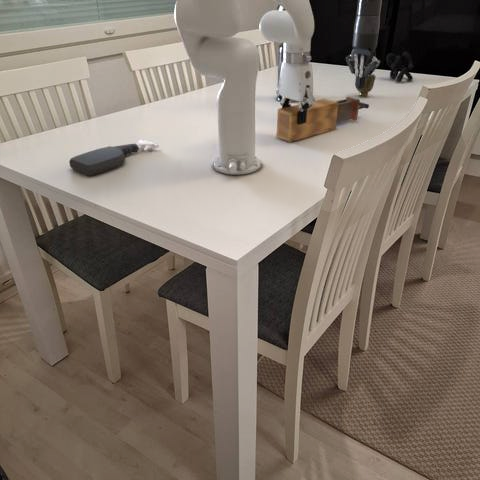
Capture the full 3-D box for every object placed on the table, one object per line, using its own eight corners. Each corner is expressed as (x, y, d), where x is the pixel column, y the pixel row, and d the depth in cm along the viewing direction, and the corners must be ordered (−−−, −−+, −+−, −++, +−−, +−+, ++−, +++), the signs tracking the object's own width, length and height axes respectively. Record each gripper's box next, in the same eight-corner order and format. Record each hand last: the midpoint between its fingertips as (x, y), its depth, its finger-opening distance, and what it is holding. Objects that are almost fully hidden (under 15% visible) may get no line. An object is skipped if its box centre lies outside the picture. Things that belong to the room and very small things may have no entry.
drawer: (357, 113, 156) (359, 94, 153) (368, 116, 153) (371, 96, 150) (306, 126, 143) (308, 105, 140) (317, 130, 140) (319, 109, 137)
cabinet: (321, 124, 148) (324, 98, 144) (335, 129, 144) (338, 102, 140) (276, 136, 138) (277, 109, 133) (290, 142, 134) (291, 113, 129)
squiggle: (400, 92, 202) (376, 71, 205) (417, 76, 202) (392, 56, 205) (405, 81, 191) (380, 59, 194) (423, 64, 191) (397, 42, 194)
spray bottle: (67, 168, 120) (139, 144, 136) (91, 178, 114) (163, 151, 130) (65, 157, 118) (137, 134, 134) (89, 167, 112) (162, 142, 128)
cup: (351, 97, 177) (353, 76, 172) (356, 92, 182) (358, 72, 178) (370, 99, 174) (373, 77, 169) (374, 94, 179) (377, 73, 175)
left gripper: (328, 60, 122) (323, 125, 131) (285, 52, 133) (283, 112, 143) (309, 64, 118) (305, 130, 127) (266, 55, 129) (265, 117, 139)
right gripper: (391, 31, 136) (382, 90, 146) (357, 28, 145) (351, 83, 154) (376, 34, 132) (368, 93, 142) (341, 30, 141) (336, 86, 151)
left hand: (293, 120), depth 135 cm, fingers closed on cabinet, 6 cm apart
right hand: (359, 88), depth 148 cm, fingers closed
